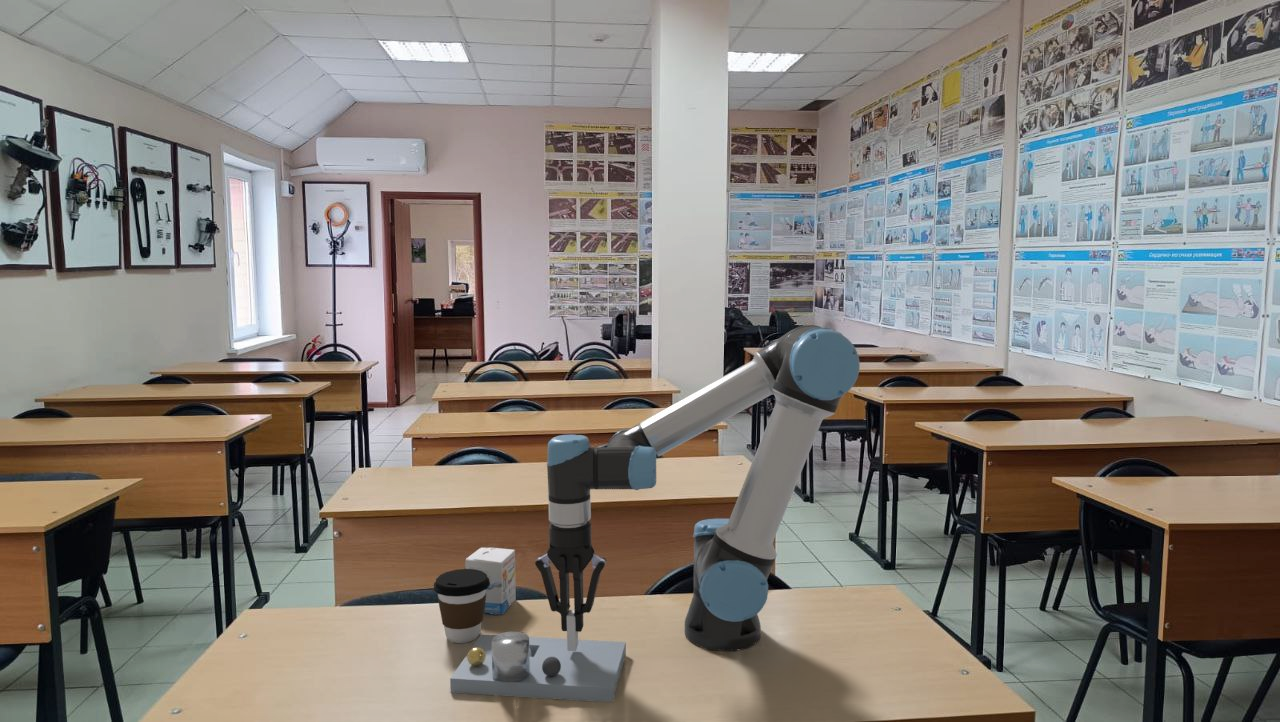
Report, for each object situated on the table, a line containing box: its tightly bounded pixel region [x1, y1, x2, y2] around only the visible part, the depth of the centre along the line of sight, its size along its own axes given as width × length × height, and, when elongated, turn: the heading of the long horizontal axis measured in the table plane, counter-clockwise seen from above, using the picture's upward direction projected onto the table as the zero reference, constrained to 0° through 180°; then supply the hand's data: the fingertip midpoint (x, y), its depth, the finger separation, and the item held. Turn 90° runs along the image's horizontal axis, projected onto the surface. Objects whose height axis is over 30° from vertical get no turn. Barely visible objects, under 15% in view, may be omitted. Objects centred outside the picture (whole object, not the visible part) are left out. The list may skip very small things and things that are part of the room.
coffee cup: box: [433, 568, 490, 644], centre depth 155 cm, size 11×11×12 cm
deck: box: [449, 633, 627, 703], centre depth 141 cm, size 28×17×2 cm, turn 83°
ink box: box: [464, 547, 517, 616], centre depth 170 cm, size 9×8×12 cm
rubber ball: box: [542, 657, 561, 677], centre depth 135 cm, size 3×3×3 cm
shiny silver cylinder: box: [492, 630, 530, 682], centre depth 135 cm, size 6×6×6 cm
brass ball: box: [466, 647, 486, 666], centre depth 138 cm, size 3×3×3 cm
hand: (572, 647), depth 143 cm, fingers closed
